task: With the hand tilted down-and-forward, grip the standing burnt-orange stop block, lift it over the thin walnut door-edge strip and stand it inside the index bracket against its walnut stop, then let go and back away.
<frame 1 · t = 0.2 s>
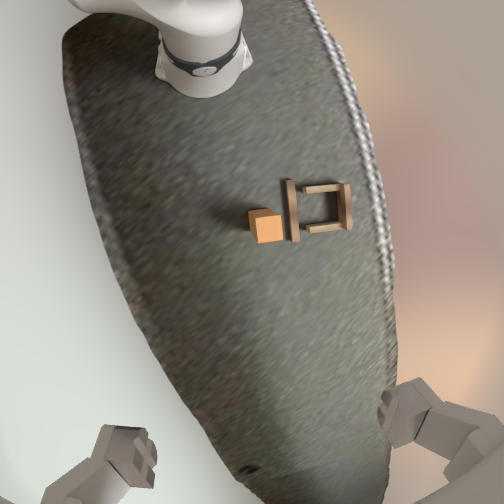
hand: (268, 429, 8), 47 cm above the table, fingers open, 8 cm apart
index bracket: (323, 206, 55), on the table
stop block: (259, 220, 54), on the table
door edge strip: (291, 210, 54), on the table
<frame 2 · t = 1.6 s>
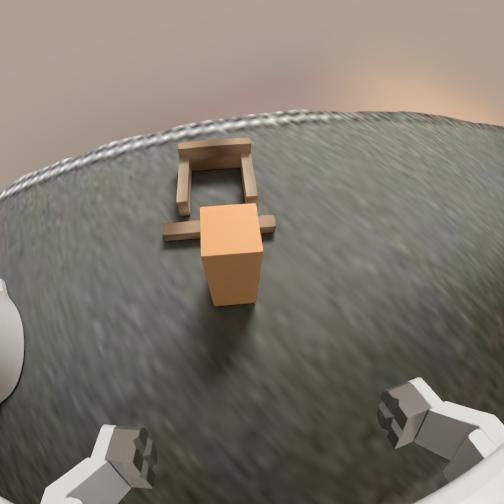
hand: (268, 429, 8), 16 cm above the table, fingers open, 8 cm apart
index bracket: (216, 186, 34), on the table
stop block: (233, 285, 28), on the table
door edge strip: (219, 230, 31), on the table
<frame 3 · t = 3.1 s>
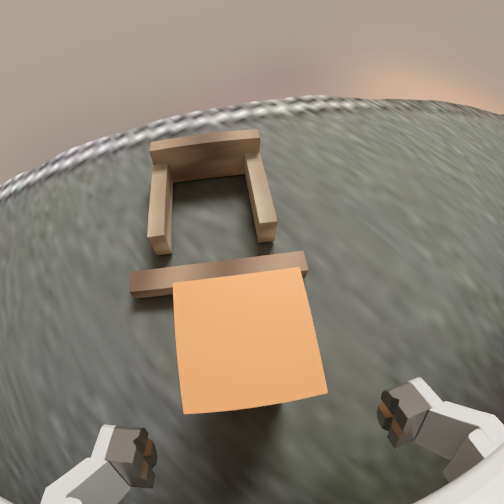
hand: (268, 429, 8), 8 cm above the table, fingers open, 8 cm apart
index bracket: (210, 205, 23), on the table
stop block: (246, 371, 16), on the table
door edge strip: (218, 279, 19), on the table
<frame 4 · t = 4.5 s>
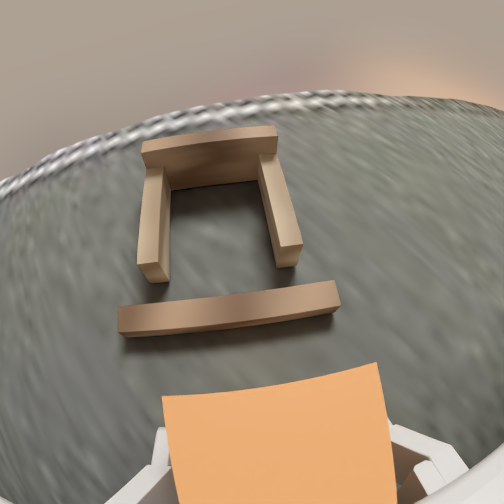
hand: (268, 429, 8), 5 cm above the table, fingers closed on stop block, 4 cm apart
index bracket: (217, 219, 19), on the table
stop block: (263, 429, 12), on the table, touching gripper
door edge strip: (227, 315, 15), on the table
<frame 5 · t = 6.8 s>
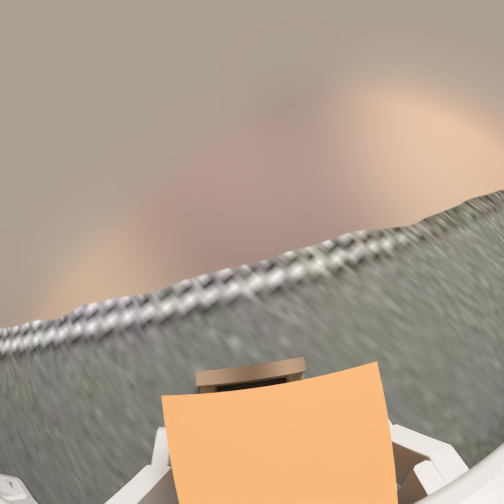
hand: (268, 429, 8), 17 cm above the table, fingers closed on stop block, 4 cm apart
index bracket: (256, 415, 23), on the table
stop block: (263, 429, 12), point 12 cm above the table, touching gripper
when the fingers open (6 cm above the table, at t = 9.1 s): stop block drops 1 cm, resting in index bracket.
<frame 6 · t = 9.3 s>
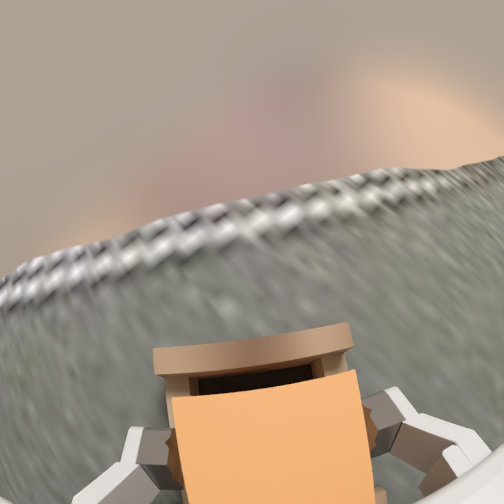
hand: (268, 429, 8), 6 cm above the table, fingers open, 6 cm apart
index bracket: (263, 427, 13), on the table
stop block: (261, 427, 13), resting in index bracket
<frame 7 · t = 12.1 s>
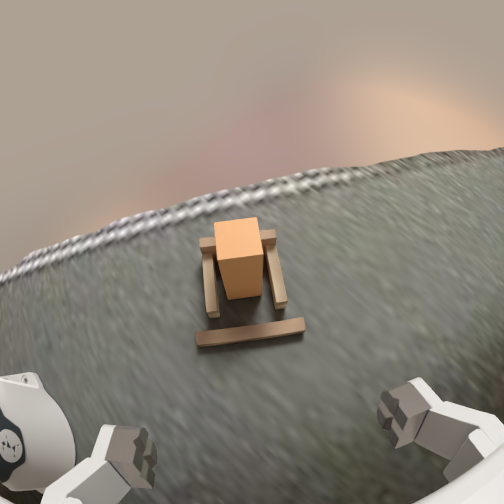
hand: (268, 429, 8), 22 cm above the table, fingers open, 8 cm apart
index bracket: (243, 282, 34), on the table
stop block: (242, 282, 34), resting in index bracket
door edge strip: (250, 334, 31), on the table
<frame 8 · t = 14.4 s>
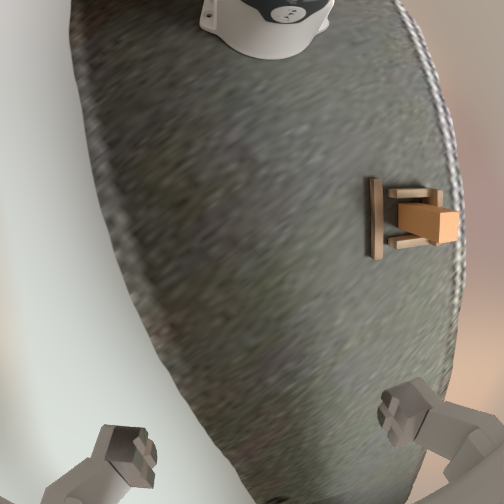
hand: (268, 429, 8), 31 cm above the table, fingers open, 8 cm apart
index bracket: (408, 215, 40), on the table
stop block: (408, 215, 40), resting in index bracket
door edge strip: (375, 218, 39), on the table
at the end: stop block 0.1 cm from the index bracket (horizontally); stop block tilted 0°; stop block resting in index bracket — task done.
